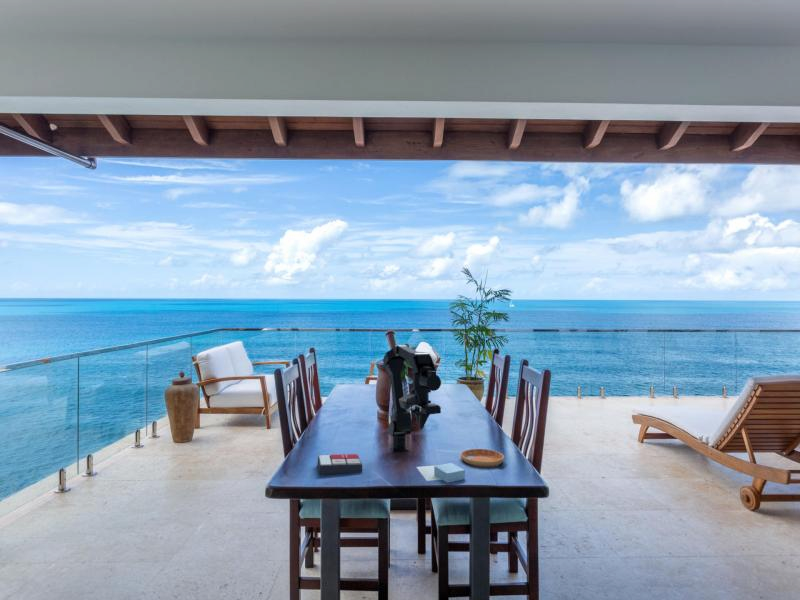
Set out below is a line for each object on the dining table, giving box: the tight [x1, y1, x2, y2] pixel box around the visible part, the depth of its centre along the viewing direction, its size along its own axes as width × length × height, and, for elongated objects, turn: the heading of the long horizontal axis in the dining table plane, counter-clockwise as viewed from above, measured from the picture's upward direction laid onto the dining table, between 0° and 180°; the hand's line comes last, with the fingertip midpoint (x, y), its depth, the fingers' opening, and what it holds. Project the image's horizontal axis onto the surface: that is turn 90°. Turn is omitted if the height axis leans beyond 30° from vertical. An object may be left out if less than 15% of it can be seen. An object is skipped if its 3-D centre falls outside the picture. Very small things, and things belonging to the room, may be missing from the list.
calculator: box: [316, 453, 363, 476], centre depth 164 cm, size 11×4×15 cm
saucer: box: [460, 448, 505, 468], centre depth 171 cm, size 16×16×3 cm
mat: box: [416, 464, 443, 482], centre depth 158 cm, size 14×13×1 cm
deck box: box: [433, 462, 466, 483], centre depth 154 cm, size 3×7×8 cm
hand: (421, 428), depth 169 cm, fingers closed
